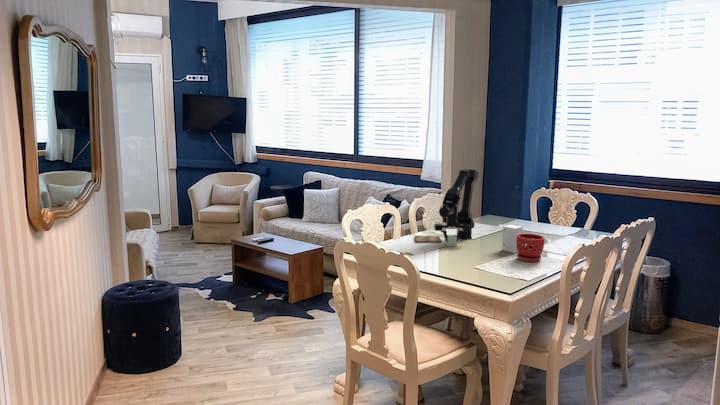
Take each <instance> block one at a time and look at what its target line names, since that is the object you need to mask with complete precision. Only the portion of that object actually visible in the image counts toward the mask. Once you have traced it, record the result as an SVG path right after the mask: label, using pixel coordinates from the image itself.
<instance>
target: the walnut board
mask: <svg viewBox="0 0 720 405" xmlns="http://www.w3.org/2000/svg"><path fill="white" fill-rule="evenodd" d="M414 240H415V243H416V244H417V243H418V244H419V243H420V244H422V243H423V244H425V243H426V244H429V243H430V244H431V243H432V244H437V243H438V244H439V243H440V244H441V243H442V239H441V237H440V235H415V236H414Z"/></svg>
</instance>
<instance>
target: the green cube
mask: <svg viewBox="0 0 720 405" xmlns="http://www.w3.org/2000/svg"><path fill="white" fill-rule="evenodd" d="M456 235H457V234H447V243H446V242H445V244H446V246H447V247H450V246H451V247H457V245H458V244H457V243H458V241H457V236H456Z"/></svg>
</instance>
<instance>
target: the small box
mask: <svg viewBox="0 0 720 405" xmlns="http://www.w3.org/2000/svg"><path fill="white" fill-rule="evenodd" d="M523 232H524V229H523V226H520V225H519V226H518V225H514V224H507V225H503V226H502V240H501V242H502V245H501V246H502V247H501V251H505V252H509V253H512V254H513V253H514V254H516V253H517V254H518V250H517V235H518V234H523Z"/></svg>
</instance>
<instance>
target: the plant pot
mask: <svg viewBox="0 0 720 405" xmlns="http://www.w3.org/2000/svg"><path fill="white" fill-rule="evenodd" d="M545 242H546V240H545V236H543V235H540V234H535V233H522V234H518V235H517V250H518V252H517V254H516V257H517V258H518V259H519V260H520V261H523V262H528V261H529V262H530V263H532V262H533V263H534V262H538V261H540V260H541V259H542V256H541V254H543V250H544V247H545Z"/></svg>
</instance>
